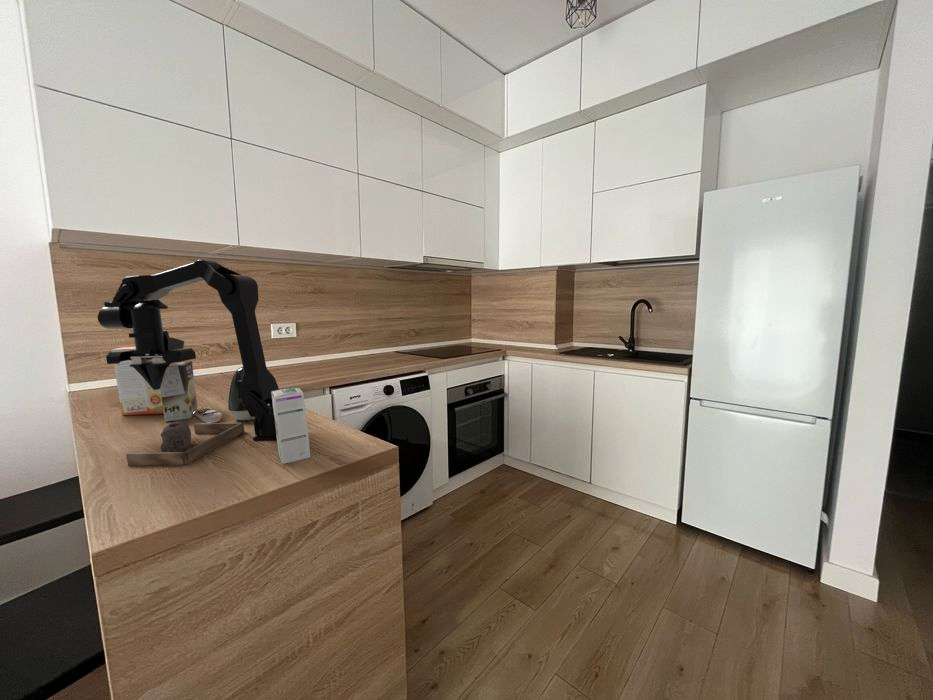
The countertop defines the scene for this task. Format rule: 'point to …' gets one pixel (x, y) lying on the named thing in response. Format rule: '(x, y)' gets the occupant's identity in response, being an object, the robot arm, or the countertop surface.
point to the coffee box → (178, 391)
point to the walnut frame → (188, 456)
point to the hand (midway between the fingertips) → (156, 389)
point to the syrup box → (290, 425)
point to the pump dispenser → (234, 402)
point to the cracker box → (135, 390)
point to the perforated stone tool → (176, 437)
